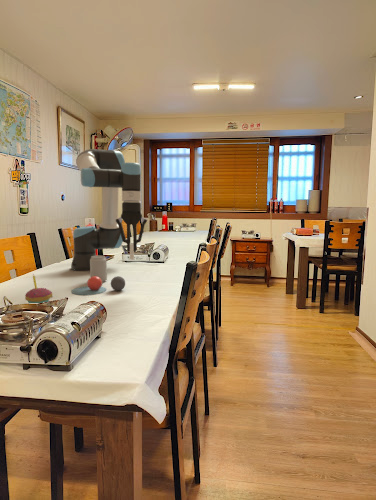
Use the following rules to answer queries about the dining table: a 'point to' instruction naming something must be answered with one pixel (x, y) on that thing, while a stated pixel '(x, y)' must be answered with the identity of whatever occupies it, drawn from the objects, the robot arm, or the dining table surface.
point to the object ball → (94, 283)
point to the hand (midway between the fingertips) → (132, 259)
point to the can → (98, 267)
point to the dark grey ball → (118, 283)
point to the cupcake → (38, 294)
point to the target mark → (87, 291)
